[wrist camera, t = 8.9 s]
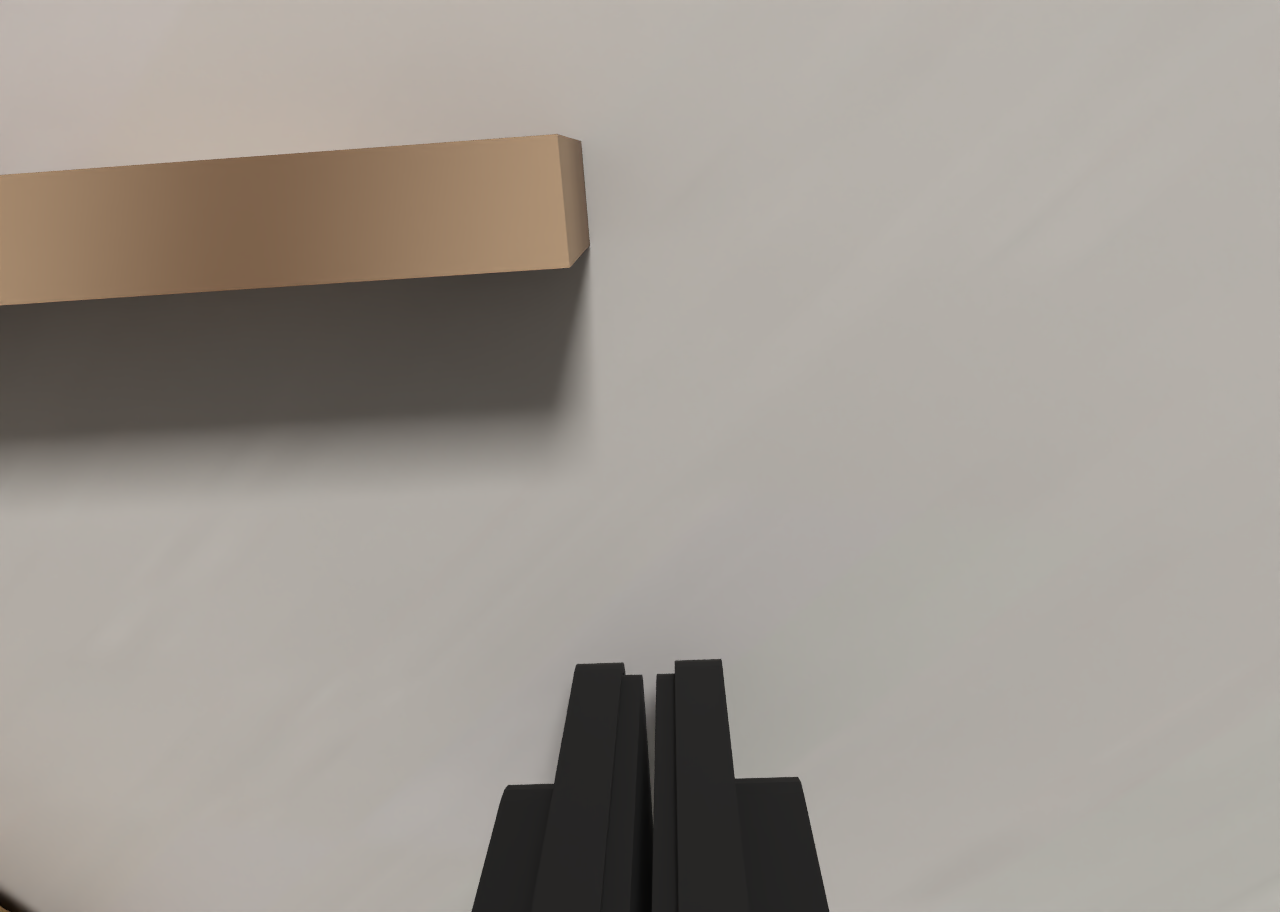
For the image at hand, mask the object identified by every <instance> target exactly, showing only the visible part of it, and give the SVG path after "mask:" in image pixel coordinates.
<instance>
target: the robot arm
mask: <svg viewBox="0 0 1280 912" xmlns="http://www.w3.org/2000/svg"><path fill="white" fill-rule="evenodd" d="M472 912H829V908H828V903H827V899H826V894H825V890H824V885H823V880H822V876H821V871H820V867H819V862H818V857H817V853H816V848H815V843H814V839H813V834H812V830H811V825H810V820H809V816H808V811H807V807H806V802H805V797H804V793H803V789H802V785H801V782H800V780H799V778H798V777H779V778H744V779H735V777H734V768H733V759H732V750H731V741H730V732H729V722H728V713H727V704H726V695H725V686H724V677H723V668H722V660H721V659H710V660H682V661H675V674H657V679H656V729H655V778H654V828H653V817H652V802H651V788H650V774H649V759H648V745H647V730H646V716H645V702H644V687H643V677H642V675H625V667H624V663H597V664H577V665H576V668H575V672H574V677H573V683H572V688H571V694H570V699H569V705H568V710H567V716H566V721H565V727H564V732H563V738H562V743H561V749H560V754H559V760H558V765H557V771H556V776H555V782H554V784H531V785H508V786H507V787H506V789H505V790H504V792H503V795H502V798H501V801H500V805H499V809H498V813H497V816H496V820H495V824H494V828H493V832H492V836H491V839H490V843H489V847H488V851H487V855H486V859H485V862H484V866H483V870H482V874H481V878H480V882H479V886H478V889H477V893H476V897H475V901H474V905H473V909H472Z"/></svg>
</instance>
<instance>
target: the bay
mask: <svg viewBox="0 0 1280 912" xmlns="http://www.w3.org/2000/svg"><path fill="white" fill-rule="evenodd" d="M589 246H590V240H589V229H588V217H587V205H586V193H585V181H584V170H583V158H582V146H581V141H578V140H575V139H572V138H568V137H565V136H562V135H558V134H553V135H540V136H526V137H512V138H499V139H485V140H472V141H458V142H444V143H431V144H417V145H403V146H390V147H376V148H363V149H349V150H335V151H322V152H308V153H295V154H281V155H267V156H254V157H240V158H226V159H213V160H199V161H186V162H172V163H158V164H145V165H131V166H117V167H104V168H90V169H77V170H63V171H49V172H36V173H22V174H9V175H0V305H13V304H28V303H44V302H59V301H74V300H89V299H104V298H119V297H134V296H149V295H164V294H180V293H195V292H210V291H225V290H240V289H255V288H270V287H285V286H300V285H315V284H331V283H346V282H361V281H376V280H391V279H406V278H421V277H436V276H451V275H467V274H482V273H497V272H512V271H527V270H542V269H557V268H570V267H571V266H572V265H573V263H574V262H575V261H576V260H577V259H578V258H579V257H580V256H581V255H582V253H583V252H584V251H585V250H586V249H587V248H588V247H589Z"/></svg>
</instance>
